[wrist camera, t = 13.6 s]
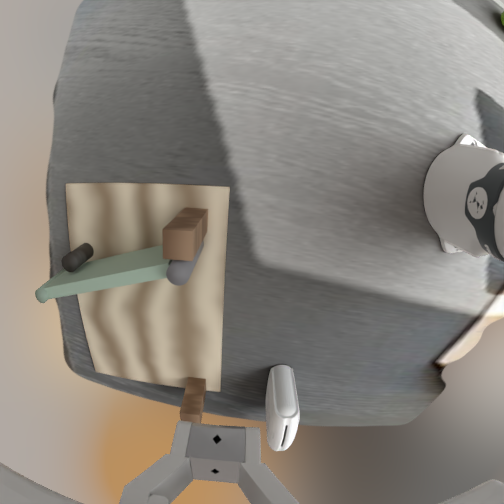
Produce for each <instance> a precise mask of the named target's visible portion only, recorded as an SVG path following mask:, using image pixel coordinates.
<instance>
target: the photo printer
mask: <svg viewBox="0 0 504 504" xmlns="http://www.w3.org/2000/svg"><path fill="white" fill-rule="evenodd" d="M265 404H266V424H267V442H268V445H269V446H270V448H271V449H273V450H275V451H284V450H286V449H287V448H288V447H289V446H290V445H291V444H292V442H293V440H294V438H295V435H296V432H297V428H298V423H299V405H298V399H297V392H296V386H295V380H294V374H293V369H292V368H290V367H289V366H287V365H277V366H274V367H273V368H271V370H270V373H269V378H268V384H267V391H266V400H265Z"/></svg>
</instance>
